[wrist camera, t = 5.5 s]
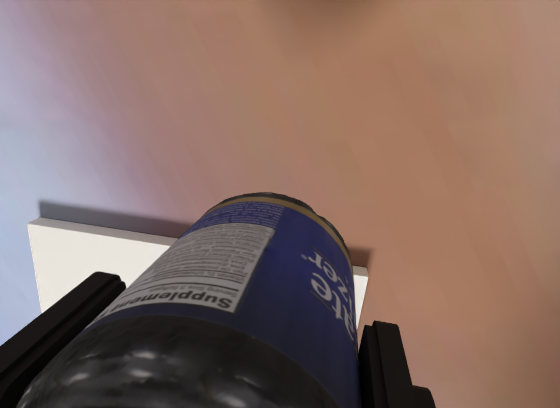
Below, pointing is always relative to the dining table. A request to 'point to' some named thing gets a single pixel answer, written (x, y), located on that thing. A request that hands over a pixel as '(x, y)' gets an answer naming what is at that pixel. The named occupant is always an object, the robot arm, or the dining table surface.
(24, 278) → the dining table surface
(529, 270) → the dining table surface
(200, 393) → the pill bottle
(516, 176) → the dining table surface
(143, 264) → the socket board
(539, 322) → the dining table surface
